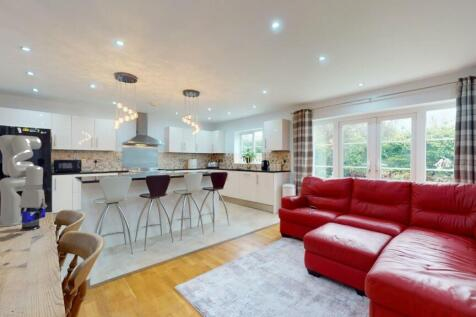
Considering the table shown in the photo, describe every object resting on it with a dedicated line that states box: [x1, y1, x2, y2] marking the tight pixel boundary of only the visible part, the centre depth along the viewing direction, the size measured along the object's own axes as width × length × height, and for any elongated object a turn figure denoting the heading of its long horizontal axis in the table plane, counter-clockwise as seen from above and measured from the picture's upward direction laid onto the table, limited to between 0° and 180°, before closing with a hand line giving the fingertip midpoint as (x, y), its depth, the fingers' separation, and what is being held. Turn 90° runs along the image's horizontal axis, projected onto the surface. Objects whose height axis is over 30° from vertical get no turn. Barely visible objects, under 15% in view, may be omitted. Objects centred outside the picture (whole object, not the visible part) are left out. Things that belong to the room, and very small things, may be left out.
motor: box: [20, 211, 41, 232], centre depth 141 cm, size 9×9×11 cm
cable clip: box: [21, 206, 47, 223], centre depth 130 cm, size 12×4×6 cm, turn 2°
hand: (32, 218), depth 130 cm, fingers closed on cable clip, 4 cm apart
